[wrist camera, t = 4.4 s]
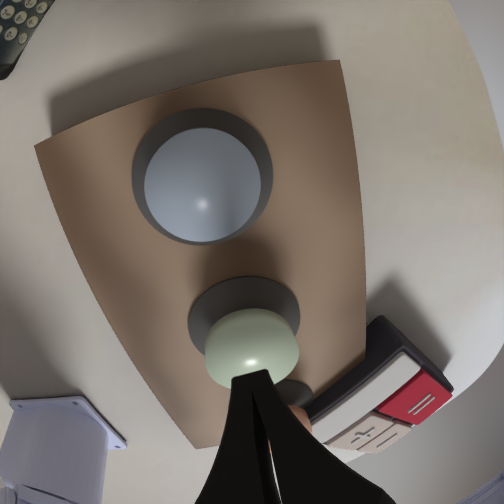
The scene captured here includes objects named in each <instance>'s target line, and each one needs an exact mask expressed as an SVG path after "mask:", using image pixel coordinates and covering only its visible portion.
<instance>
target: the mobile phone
mask: <svg viewBox="0 0 504 504" xmlns="http://www.w3.org/2000/svg"><path fill="white" fill-rule="evenodd" d="M54 1H55V0H0V80H4V79H6V78H7V77H8V76H9V74H10V73H11V72H12V71H13V69H14V67H15V65H16V63H17V61H18V59H19V57H20V55H21V53H22V52H23V50H24V48H25V46H26V44H27V43H28V41H29V39H30V38H31V36H32V34H33V33H34V31H35V29H36V28H37V26H38V24H39V23H40V21H41V20H42V18H43V17H44V15H45V14H46V12H47V11H48V9H49V8H50V6H51V5H52V4H53V2H54Z"/></svg>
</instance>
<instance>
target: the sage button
mask: <svg viewBox="0 0 504 504" xmlns="http://www.w3.org/2000/svg"><path fill="white" fill-rule="evenodd" d="M204 347H205V364H206V369H207V372H208V373H209V375H210V376H211V378H212V379H213V380H214V381H216V382H217V383H218V384H220V385H222V386H224V387H227V388H229V389H231V379H232V378H233V377H235V376H239V375H243V374H247V373H251V372H254V371H258V370H262V369H267V370H268V371H269V374H270V376H271V379H272V381H273V383H274V384H276V383H277V382H279V381H281V380H282V379H284V378H285V377H286V376H287V375H288V374H289V373H290V372H291V371H292V370H293V368H294V367H295V365H296V363H297V361H298V357H299V347H298V344H297V341H296V339H295V337H294V334H293V332H292V329H291V327H290V325H289V323H288V322H287V321H286V320H285V319H284V318H283V317H282V316H280V315H279V314H277V313H275V312H272V311H270V310H265V309H258V308H251V309H243V310H238V311H235V312H232V313H230V314H228V315H226V316H224V317H222V318H221V319H219V320H218V321H217V322H216V323H215V324H214V325H213V326H212V327H211V328H210V330H209V331H208V333H207V335H206V338H205V346H204Z"/></svg>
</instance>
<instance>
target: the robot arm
mask: <svg viewBox="0 0 504 504" xmlns="http://www.w3.org/2000/svg"><path fill="white" fill-rule="evenodd" d="M9 405H10V406H11V407H12V409H13V410H14V412H13V415H12V418H11V420H10V423H9V426H8V429H7V432H6V434H5V437H4V440H3V443H2V446H1V449H0V477H1V479H2V481H3V483H4V485H5V486H6V487H4V488H1V489H0V504H102V497H103V486H104V477H105V468H106V459H107V452H108V450H116V449H126V448H127V443H126V442H125V441H124V440H123V439H122V438H121V437H120V436H119V435H118V434H117V433H116V432H115V431H114V430H113V429H112V428H111V427H110V426H109V425H108V424H107V423H106V422H105V421H104V420H103V418H102V417H101V416H100V415H99V414H98V413H97V412H96V411H95V410H94V408H93V407H92V406H91V405H90V404H89V403H88V402H87V400H86V399H85V398H83V397H81V396H72V397H61V398H48V399H30V400H10V403H9ZM269 444H270V446H269ZM270 448H271V453H272V457H273V462H274V467H275V472H276V476H277V481H278V486H279V491H280V496H281V500H282V504H396V503H395V501H394V500H393V499H392V498H391V497H390V496H389V495H388V494H387V493H386V492H385V491H384V490H383V489H382V488H380V487H379V486H377V485H375V484H373V483H372V482H370V481H369V480H367V479H365V478H364V477H362V476H361V475H359V474H358V473H357V472H355V471H354V470H352V469H351V468H349V467H348V466H347V465H346V464H344V463H343V462H342V461H341V460H339V459H338V458H337V457H336V456H334V455H333V454H332V453H331V452H330V451H329V450H327V449H326V448H325V447H324V446H323V445H322V444H321V443H320V442H319V441H318V440H317V439H316V438H315V437H314V436H313V435H312V434H311V433H310V432H309V431H308V430H307V429H306V428H305V426H304V425H303V424H302V423H301V422H300V421H299V419H298V418H297V417H296V416H295V414H294V413H293V412H292V411H291V409H290V408H289V406H288V405H287V404H286V402H285V401H284V400H283V398H282V396H281V395H280V393H279V392H278V390H277V388H276V387H275V385H274V383H273V381H272V379H271V376H270V374H269V371H268V370H267V369H262V370H258V371H254V372H251V373H247V374H243V375H239V376H235V377H233V378H232V379H231V393H230V401H229V408H228V413H227V418H226V423H225V427H224V431H223V435H222V439H221V442H220V446H219V449H218V452H217V455H216V458H215V461H214V464H213V466H212V469H211V471H210V474H209V476H208V478H207V480H206V483H205V485H204V487H203V489H202V491H201V493H200V495H199V497H198V498H197V500H196V502H195V504H281V500H280V497H279V494H278V489H277V486H276V482H275V477H274V473H273V466H272V460H271V453H270ZM456 504H504V469H503V470H502V471H501V473H499V474H498V475H497V476H495V477H494V478H493V479H491V480H490V481H489V482H487V483H486V484H485V485H483V486H482V487H480V488H479V489H478V490H476V491H475V492H473V493H472V494H470V495H469V496H467V497H466V498H464V499H463V500H461V501H460V502H458V503H456Z"/></svg>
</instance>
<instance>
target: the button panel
mask: <svg viewBox="0 0 504 504" xmlns="http://www.w3.org/2000/svg"><path fill="white" fill-rule="evenodd" d="M201 127H205V128H214V129H218V130H221V131H224V132H226V133H228V134H230V135H232V136H233V137H235V138H236V139H237V140H239V141H240V142H241V143H242V144H243V145H244V146H245V147H246V148H247V149H248V150H249V151H250V153H251V154H252V156H253V157H254V159H255V161H256V163H257V166H258V169H259V173H260V179H261V189H260V196H259V200H258V203H257V205H256V208H255V210H254V212H253V213H252V215H251V216H250V218H249V219H248V220H247V222H246V223H245V224H244V225H243V226H242V227H240V228H239V229H238V230H237V231H235V232H233V233H232V234H230V235H228V236H226V237H224V238H221V239H218V240H213V241H206V242H196V241H189V240H185V239H182V238H180V237H177V236H175V235H173V234H171V233H170V232H168V231H167V230H166V229H164V228H163V227H162V226H161V225H160V224H159V223H158V222H157V221H156V219H155V218H154V217H153V215H152V213H151V212H150V210H149V207H148V205H147V202H146V198H145V191H144V182H145V175H146V171H147V168H148V165H149V163H150V161H151V159H152V158H153V156H154V154H155V153H156V152H157V151H158V149H159V148H160V147H161V146H162V145H163V144H164V143H165V142H167V141H168V140H169V139H170V138H172V137H173V136H175V135H176V134H178V133H180V132H183V131H185V130H188V129H193V128H201ZM34 148H35V151H36V154H37V158H38V161H39V164H40V167H41V170H42V173H43V176H44V179H45V182H46V185H47V188H48V191H49V194H50V196H51V199H52V202H53V204H54V207H55V210H56V212H57V215H58V217H59V220H60V222H61V225H62V227H63V230H64V232H65V234H66V237H67V239H68V241H69V244H70V246H71V248H72V250H73V253H74V255H75V257H76V259H77V261H78V264H79V266H80V268H81V270H82V272H83V274H84V276H85V278H86V280H87V282H88V284H89V286H90V288H91V290H92V292H93V294H94V296H95V298H96V300H97V302H98V304H99V305H100V307H101V309H102V311H103V313H104V315H105V316H106V318H107V320H108V322H109V324H110V325H111V327H112V329H113V331H114V332H115V334H116V336H117V337H118V339H119V341H120V342H121V344H122V346H123V347H124V349H125V351H126V352H127V354H128V356H129V357H130V359H131V360H132V362H133V364H134V365H135V367H136V368H137V370H138V371H139V373H140V374H141V376H142V377H143V379H144V380H145V382H146V383H147V385H148V386H149V388H150V389H151V391H152V392H153V393H154V395H155V396H156V398H157V399H158V401H159V402H160V403H161V405H162V406H163V408H164V409H165V410H166V412H167V413H168V414H169V416H170V417H171V418H172V420H173V421H174V422H175V424H176V425H177V426H178V428H179V429H180V430H181V431H182V433H183V434H184V435H185V436H186V438H187V439H188V440H189V441H190V443H191V444H192V445H193V446H194V448H195V449H201V448H207V447H213V446H219V445H220V442H221V439H222V435H223V431H224V427H225V423H226V418H227V413H228V408H229V401H230V393H231V389H229V388H227V387H224V386H222V385H220V384H218V383H217V382H216V381H214V380H213V379H212V378H211V376H210V375H209V373H208V372H207V369H206V364H205V347H204V346H205V338H206V335H207V333H208V331H209V330H210V328H211V327H212V326H213V325H214V324H215V323H216V322H217V321H218V320H219V319H221V318H222V317H224V316H226V315H228V314H230V313H232V312H235V311H238V310H243V309H251V308H258V309H265V310H270V311H272V312H275V313H277V314H279V315H280V316H282V317H283V318H284V319H285V320H286V321H287V322H288V323H289V325H290V327H291V329H292V332H293V334H294V337H295V339H296V341H297V344H298V347H299V357H298V361H297V363H296V365H295V367H294V368H293V370H292V371H291V372H290V373H289V374H288V375H287V376H286V377H285V378H284V379H282V380H281V381H279V382H277V383H276V384H274V385H275V387H276V388H277V390H278V392H279V393H280V395H281V396H282V398H283V400H284V401H285V402H286V404H287V405H291V406H297V407H300V408H302V409H305V408H307V407H308V406H309V405H311V404H312V403H313V400H314V399H315V398H317V397H318V396H319V395H321V394H322V393H323V392H325V391H326V390H327V389H328V388H330V387H331V386H332V385H333V384H335V383H336V382H337V381H339V380H340V379H341V378H342V377H343V376H345V375H346V374H347V373H348V372H350V371H351V370H352V369H353V368H354V367H356V366H357V365H358V364H359V363H360V362H361V361H363V360H364V359H365V351H366V269H365V246H364V229H363V216H362V203H361V193H360V183H359V174H358V165H357V157H356V149H355V142H354V135H353V129H352V122H351V116H350V110H349V104H348V99H347V93H346V88H345V83H344V78H343V73H342V68H341V63H340V60H329V61H318V62H309V63H300V64H292V65H285V66H278V67H272V68H266V69H260V70H254V71H249V72H244V73H239V74H234V75H229V76H225V77H220V78H216V79H212V80H208V81H203V82H200V83H196V84H192V85H188V86H185V87H181V88H177V89H174V90H171V91H167V92H164V93H161V94H157V95H154V96H151V97H148V98H145V99H142V100H139V101H136V102H133V103H131V104H128V105H125V106H122V107H120V108H117V109H114V110H112V111H109V112H107V113H104V114H102V115H99V116H97V117H94V118H92V119H89V120H87V121H85V122H82V123H80V124H78V125H76V126H73V127H71V128H69V129H67V130H65V131H62V132H60V133H58V134H56V135H54V136H52V137H50V138H48V139H46V140H44V141H42V142H40V143H38V144H36V145H34Z"/></svg>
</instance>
